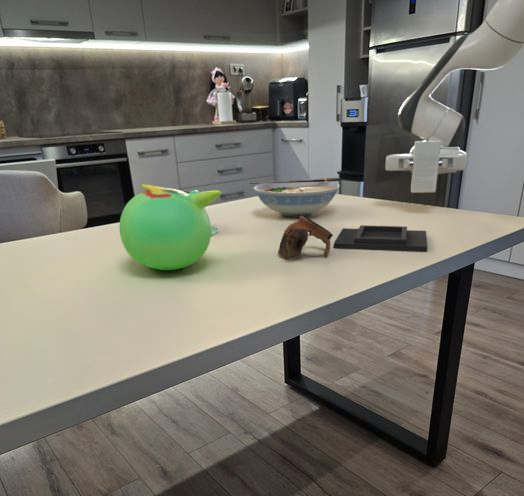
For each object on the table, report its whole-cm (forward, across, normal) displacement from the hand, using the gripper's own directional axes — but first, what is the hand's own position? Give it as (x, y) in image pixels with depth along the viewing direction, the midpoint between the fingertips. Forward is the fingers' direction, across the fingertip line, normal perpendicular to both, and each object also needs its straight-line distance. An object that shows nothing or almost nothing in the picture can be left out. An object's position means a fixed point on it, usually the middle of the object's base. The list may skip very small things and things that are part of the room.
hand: (425, 165), depth 120 cm
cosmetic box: (-1, 0, +7) cm, 7 cm away
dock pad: (+31, -8, +12) cm, 34 cm away
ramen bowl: (+4, -32, +12) cm, 35 cm away
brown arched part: (+45, -22, +12) cm, 52 cm away
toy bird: (+56, -44, +12) cm, 72 cm away
